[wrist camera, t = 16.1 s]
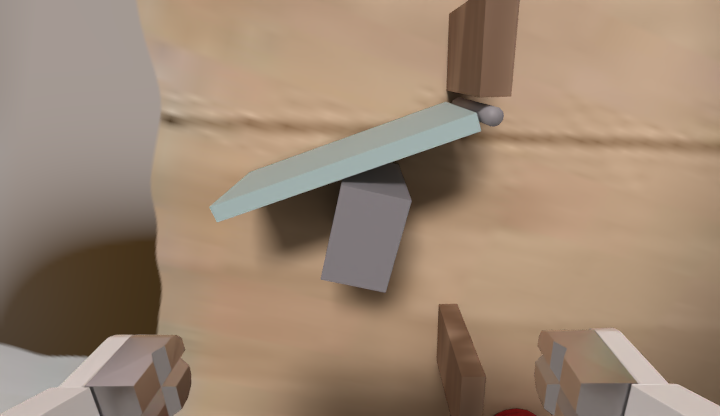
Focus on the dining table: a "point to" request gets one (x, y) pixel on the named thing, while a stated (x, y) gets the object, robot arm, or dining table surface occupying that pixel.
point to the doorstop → (367, 228)
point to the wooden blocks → (480, 79)
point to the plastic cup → (515, 413)
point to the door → (356, 155)
